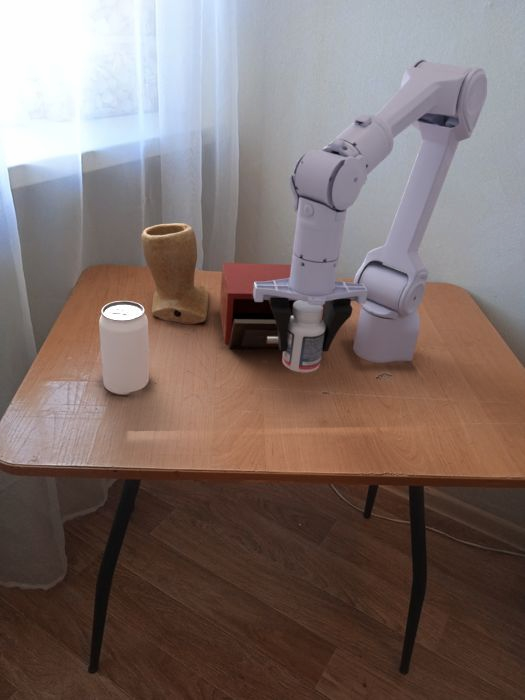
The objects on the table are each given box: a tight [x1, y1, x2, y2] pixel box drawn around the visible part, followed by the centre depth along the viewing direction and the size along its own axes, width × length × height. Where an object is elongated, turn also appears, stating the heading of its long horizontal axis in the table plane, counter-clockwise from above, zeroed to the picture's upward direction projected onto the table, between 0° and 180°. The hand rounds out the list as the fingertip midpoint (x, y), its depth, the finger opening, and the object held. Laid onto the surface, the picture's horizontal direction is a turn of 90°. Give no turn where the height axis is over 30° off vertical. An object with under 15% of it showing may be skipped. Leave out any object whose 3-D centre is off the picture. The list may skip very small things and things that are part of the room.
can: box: [98, 300, 150, 396], centre depth 78 cm, size 6×6×12 cm
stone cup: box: [140, 222, 209, 325], centre depth 99 cm, size 15×12×15 cm
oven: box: [219, 262, 325, 345], centre depth 96 cm, size 16×12×10 cm
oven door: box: [228, 319, 324, 350], centre depth 88 cm, size 15×4×9 cm
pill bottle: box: [281, 300, 326, 374], centre depth 75 cm, size 5×5×9 cm
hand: (302, 347), depth 76 cm, fingers closed on pill bottle, 5 cm apart
